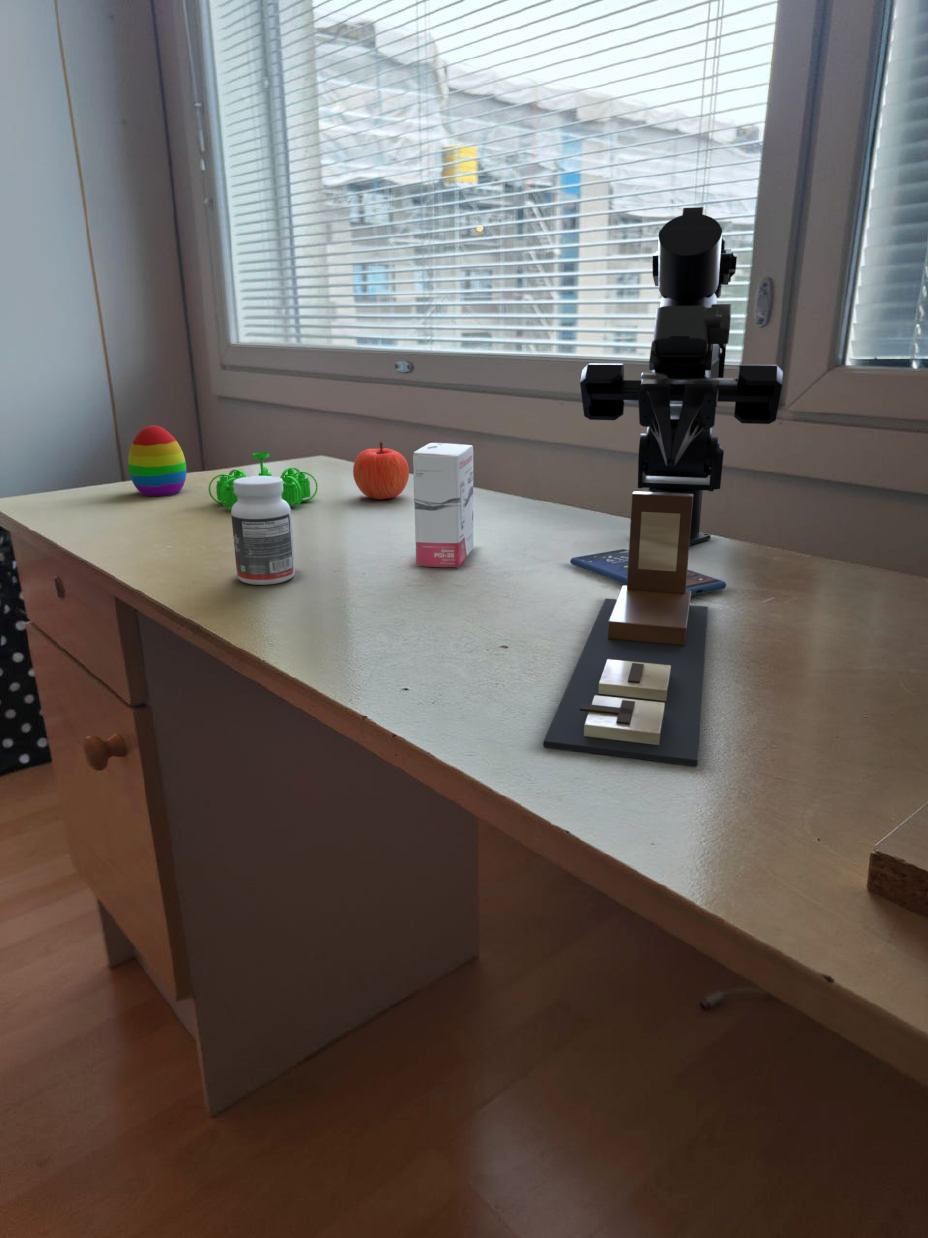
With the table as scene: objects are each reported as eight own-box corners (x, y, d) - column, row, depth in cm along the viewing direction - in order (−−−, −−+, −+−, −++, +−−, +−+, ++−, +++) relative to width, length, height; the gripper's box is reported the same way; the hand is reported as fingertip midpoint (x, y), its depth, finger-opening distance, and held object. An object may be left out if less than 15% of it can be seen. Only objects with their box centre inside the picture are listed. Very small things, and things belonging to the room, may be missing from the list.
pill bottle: (242, 570, 89) (233, 475, 86) (298, 569, 89) (291, 473, 86) (233, 587, 83) (223, 485, 80) (292, 585, 84) (284, 484, 81)
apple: (361, 491, 129) (359, 437, 127) (414, 492, 128) (412, 438, 125) (347, 502, 122) (344, 445, 119) (403, 503, 121) (401, 446, 118)
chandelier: (268, 489, 132) (265, 443, 130) (340, 499, 123) (337, 451, 121) (187, 505, 120) (181, 456, 118) (260, 518, 112) (255, 465, 110)
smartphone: (669, 594, 77) (568, 557, 89) (668, 603, 77) (567, 564, 90) (729, 581, 81) (624, 547, 93) (728, 589, 81) (624, 554, 93)
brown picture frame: (621, 601, 77) (627, 490, 74) (690, 606, 76) (699, 493, 72) (607, 639, 68) (613, 515, 65) (685, 646, 67) (695, 519, 63)
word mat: (605, 602, 78) (605, 588, 78) (707, 610, 76) (708, 595, 75) (543, 747, 52) (543, 726, 51) (696, 766, 50) (698, 745, 49)
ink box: (459, 569, 89) (458, 454, 85) (413, 567, 90) (410, 453, 86) (475, 548, 97) (474, 442, 93) (432, 546, 98) (430, 441, 94)
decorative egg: (139, 488, 133) (130, 422, 130) (193, 487, 134) (186, 421, 131) (125, 498, 125) (116, 429, 122) (183, 497, 126) (175, 428, 123)
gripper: (586, 276, 82) (563, 404, 76) (793, 271, 77) (786, 409, 71) (594, 358, 92) (574, 478, 86) (778, 358, 87) (771, 486, 81)
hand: (670, 463), depth 81 cm, fingers closed
